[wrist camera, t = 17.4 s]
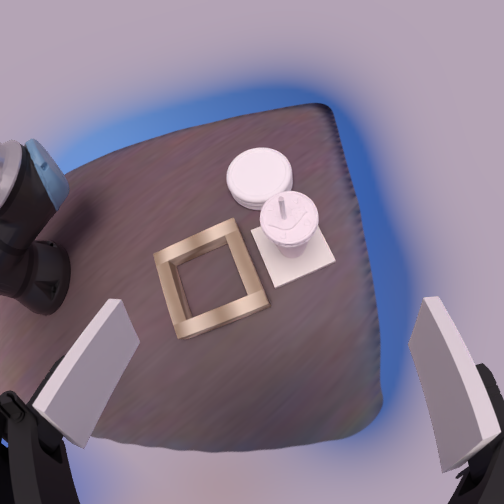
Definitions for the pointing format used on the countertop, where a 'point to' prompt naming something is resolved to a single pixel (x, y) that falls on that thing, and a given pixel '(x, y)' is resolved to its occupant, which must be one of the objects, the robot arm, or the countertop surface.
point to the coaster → (258, 176)
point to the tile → (293, 268)
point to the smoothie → (289, 222)
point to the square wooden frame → (194, 248)
